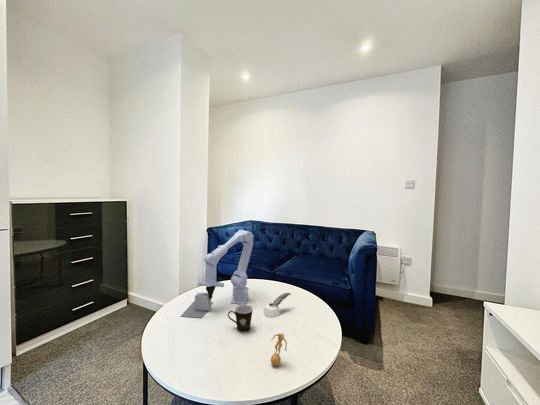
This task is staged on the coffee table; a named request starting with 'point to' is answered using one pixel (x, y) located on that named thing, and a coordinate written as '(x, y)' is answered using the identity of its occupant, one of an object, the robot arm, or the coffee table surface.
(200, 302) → the medicine box
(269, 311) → the inkwell
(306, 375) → the coffee table surface
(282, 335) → the figurine
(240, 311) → the coffee mug
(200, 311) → the mat
